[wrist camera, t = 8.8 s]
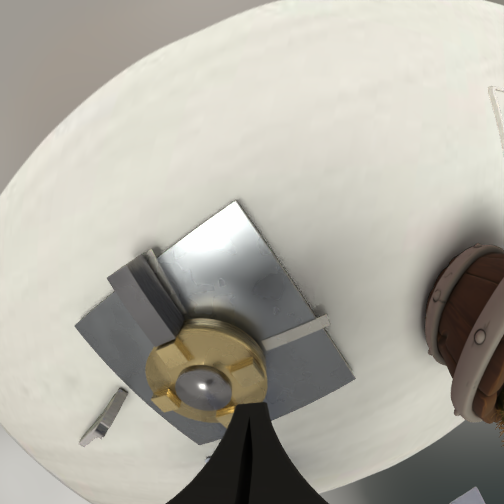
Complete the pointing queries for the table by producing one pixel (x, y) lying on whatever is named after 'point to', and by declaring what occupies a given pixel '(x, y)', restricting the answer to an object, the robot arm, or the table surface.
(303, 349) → the dark grey square plate
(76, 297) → the table surface
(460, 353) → the flowerpot
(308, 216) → the table surface
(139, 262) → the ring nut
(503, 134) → the phone case
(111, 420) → the caliper
